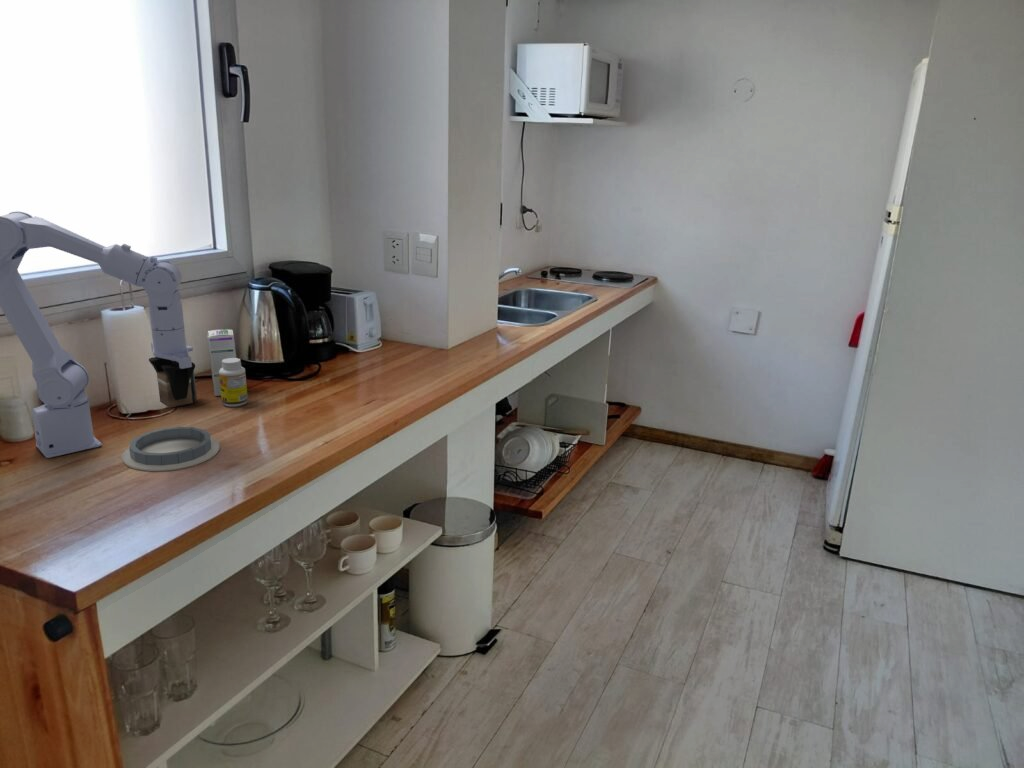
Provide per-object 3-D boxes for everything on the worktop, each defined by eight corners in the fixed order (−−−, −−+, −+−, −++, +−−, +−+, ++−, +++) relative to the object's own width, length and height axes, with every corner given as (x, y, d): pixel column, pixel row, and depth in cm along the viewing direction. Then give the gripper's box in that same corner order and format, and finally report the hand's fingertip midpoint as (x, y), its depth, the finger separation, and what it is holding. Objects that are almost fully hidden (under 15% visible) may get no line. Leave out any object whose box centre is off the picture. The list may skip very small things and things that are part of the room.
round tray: (141, 479, 133) (139, 466, 132) (109, 450, 145) (107, 437, 144) (234, 455, 144) (233, 442, 144) (198, 429, 156) (197, 418, 155)
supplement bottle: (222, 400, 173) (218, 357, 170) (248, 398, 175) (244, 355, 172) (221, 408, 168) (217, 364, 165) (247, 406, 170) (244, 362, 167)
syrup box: (240, 394, 178) (235, 334, 173) (213, 396, 175) (207, 335, 171) (239, 386, 183) (234, 328, 178) (212, 389, 180) (207, 329, 176)
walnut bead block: (169, 407, 145) (165, 377, 143) (159, 401, 148) (156, 372, 146) (193, 402, 148) (189, 373, 146) (183, 396, 151) (180, 368, 149)
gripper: (204, 331, 141) (211, 400, 145) (174, 317, 151) (181, 382, 155) (166, 337, 136) (174, 408, 141) (137, 322, 146) (145, 389, 150)
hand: (175, 395), depth 148 cm, fingers closed on walnut bead block, 4 cm apart
